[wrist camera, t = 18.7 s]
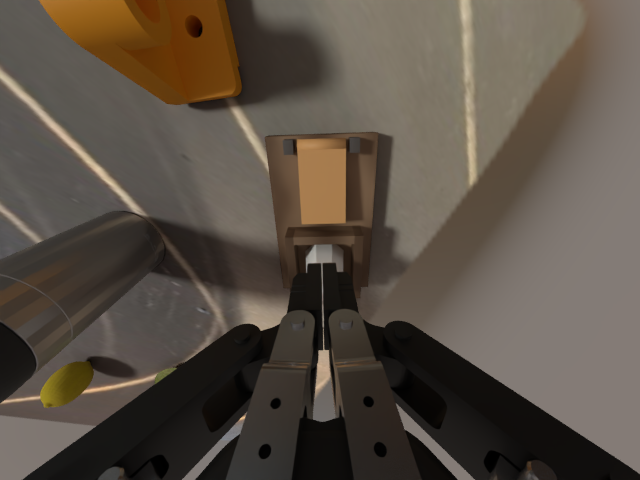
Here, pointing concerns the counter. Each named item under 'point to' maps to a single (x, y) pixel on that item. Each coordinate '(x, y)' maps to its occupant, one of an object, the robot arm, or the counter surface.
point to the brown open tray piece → (346, 235)
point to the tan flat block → (322, 180)
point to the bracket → (158, 43)
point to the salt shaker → (325, 258)
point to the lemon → (66, 384)
